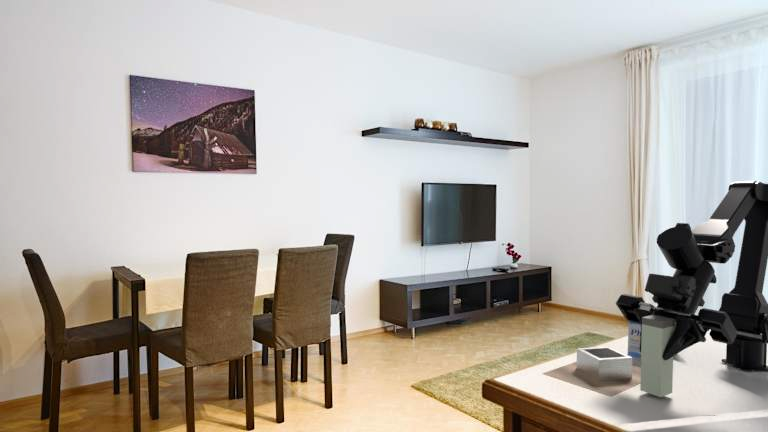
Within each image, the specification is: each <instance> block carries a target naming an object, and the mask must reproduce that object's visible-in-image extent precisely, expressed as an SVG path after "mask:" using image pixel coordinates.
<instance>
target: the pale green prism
mask: <svg viewBox="0 0 768 432" xmlns="http://www.w3.org/2000/svg"><path fill="white" fill-rule="evenodd" d="M673 333H674V319H672V318H667V317H662V316H658V315H650V316H645V317H642V339H641V357H640V366H641V383H640V384H639V386H640V387H639V388H640V389H639V390H640V391H642V392H644V393H648V394H650V395H653V396H655V397H659V398H663V397H665V396H667V395H670V394H673V380H674V379H673V378H674V377H673V376H674V374H673V373H674V356H673V357H671V358H670V359H668V360H664V359H663V358H662V355H663V352H664V350H665V348H666V346H667V344H668V342H669V340H670V338H671V336H672V334H673Z"/></svg>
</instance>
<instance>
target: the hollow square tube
mask: <svg viewBox="0 0 768 432" xmlns="http://www.w3.org/2000/svg"><path fill="white" fill-rule="evenodd" d="M576 362H577V369H579V370H581V371H583V372H584V373H586V374H588V375H589V376H591V377H593V378H595V379H596V380H598V381H604V380H616V379H628V378H632V364H633V357H632V356H631V355H628V354H626V353H624V352H621V351H619V350H617V349H616V348H615V349H614V348H612V347H611V346H596V347H595V346H594V347H581V348H579V347H578V348H576Z"/></svg>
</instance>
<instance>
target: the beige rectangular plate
mask: <svg viewBox="0 0 768 432" xmlns="http://www.w3.org/2000/svg"><path fill="white" fill-rule="evenodd" d="M542 375H545V376H548V377H550V378H551V377H552V378H554V379H558V380H560V381H564V382H565V383H569V384H572V385H574V386H577V387H581V388H584V389H587V390H590V391H593V392H595V393H599V394H602V395H605V396H608V397H611V398H612V397H613V396H616V395H618V394H620V393H622V392H625V391H627V390H630V389H631V388H633V387H636V386H637V385H641V365H639V364H633V363H632V378H628V379H616V380H604V381H598V380H596V379H595V378H593V377H591V376H589V375H588V374H586V373H584V372H583V371H581V370H579V369H577V361H574V362H572V363H569V364H566V365H563V366H560V367H557V368H554V369H551V370H548V371H545V372H543V373H542Z"/></svg>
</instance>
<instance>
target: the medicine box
mask: <svg viewBox="0 0 768 432" xmlns="http://www.w3.org/2000/svg"><path fill="white" fill-rule="evenodd" d="M627 336H628V337H627V338H628V339H627V355H628V356H630V357H632V356H633V357H637V358H641V352H640V336H641V324H638V323H633V322H630V321H628V333H627Z"/></svg>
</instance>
